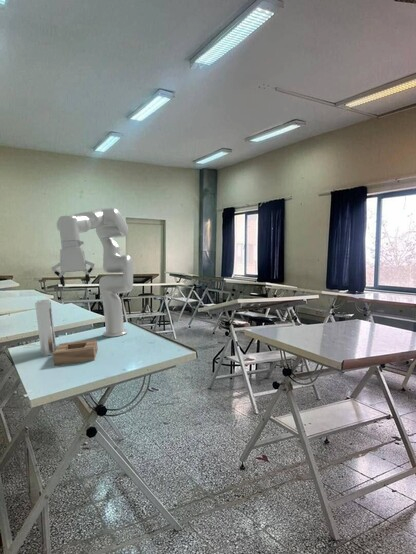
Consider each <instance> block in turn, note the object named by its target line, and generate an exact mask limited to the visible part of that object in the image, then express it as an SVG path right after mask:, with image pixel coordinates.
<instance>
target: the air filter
mask: <svg viewBox="0 0 416 554" xmlns="http://www.w3.org/2000/svg"><path fill="white" fill-rule="evenodd" d="M51 302H52V301H51V299H48V298H47V299H41V300H40V299H39V300H37V301H36V302H35V312H36V320H37V329H38V337H39V345H40V352H41V356H43V355H48V356H53V355H52V354H53V353H54V352H55V350H56V349H57V345H56V343H57V342H56V335H55V328H54V317H53V312H52V311H53V310H52V303H51Z"/></svg>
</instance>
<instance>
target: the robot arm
mask: <svg viewBox="0 0 416 554" xmlns="http://www.w3.org/2000/svg"><path fill="white" fill-rule="evenodd" d="M56 229H57V230H58V231H59V237H60V245H61V249H59V262H58V263H56V264H55V265H54V266H51V270H52V272H54V274H55V275H56V276H58V277H59V282H60V285H61V286H62V287H65V286H66V282H65V276H64V275H65V273H73V272H83V273H84V274H85V275H84V277H85V284H86V285H88V284H89V283H90V280H91V279H90V274H91V272H92V271H93V270H94V268H95V263H94V262H91V261H88V260H86V257H85V252H84V249H83V247H81V246H83V245H85V243H84V241H82V240H80V234H81V233H82V234H83V233H86V232H89V231H90V230H95V232H96V234H97V237H98V239H99V241H100V242H101V245H102V251H103V252H102V256H103V257H102V269H103V271H104V273H106V274H109V275H105V276H102V277H100V279H99V281H98V287H99V291H100V294H101V298H102V306H103V315H104V324H105V331H104V332H103V333H102V335H103V337H106V338H107V337H108V338H113V337H119V336H124V335H126V334H127V333H128V330H127V329H125V325H124V323H125V322H124V315H123V314H124V313H123V306H122V305H123V304H122V299H121V297H120V296H119V295H118V294H126V293H130V292H131V291H132V290H133V288H134V260H133V258H132V256H130V255H129V254H120V252H121V249H120V248H121V247H120V245H119V244H118V242H117V241H115V239H116V238H124V237H126V236H128V234H129V232H130V231H129V225H128V224H127V221H126V219H124V217H123V215H122V214H121V212H120V210H118V209H117V208H115V207H107V208H97V209H93V210H88V211H83V212H79V213H78V212H77V213H75V214H73V213H72V214H69V215H67V214H65V215H61V216H59V217H58V218H57V221H56ZM114 238H115V239H114ZM88 265H89V266H90V267H89V269H87V266H88ZM57 268H60V271H61V272H59V271H58V270H57ZM110 274H111V275H110ZM113 274H114V275H113Z"/></svg>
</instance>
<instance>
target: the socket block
mask: <svg viewBox="0 0 416 554" xmlns="http://www.w3.org/2000/svg"><path fill="white" fill-rule="evenodd" d="M98 351H99V349H98V340H97V339H96V338H95V339H88V340H79V341H70V342H62V343H61V342H60V343H59V345H58V346H56V350H55V352H54V353H53V355H52V357H53V364H54V366H61V365H68V364H76V363H83V362H92V361H95V360H96V357H97V353H98Z"/></svg>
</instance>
